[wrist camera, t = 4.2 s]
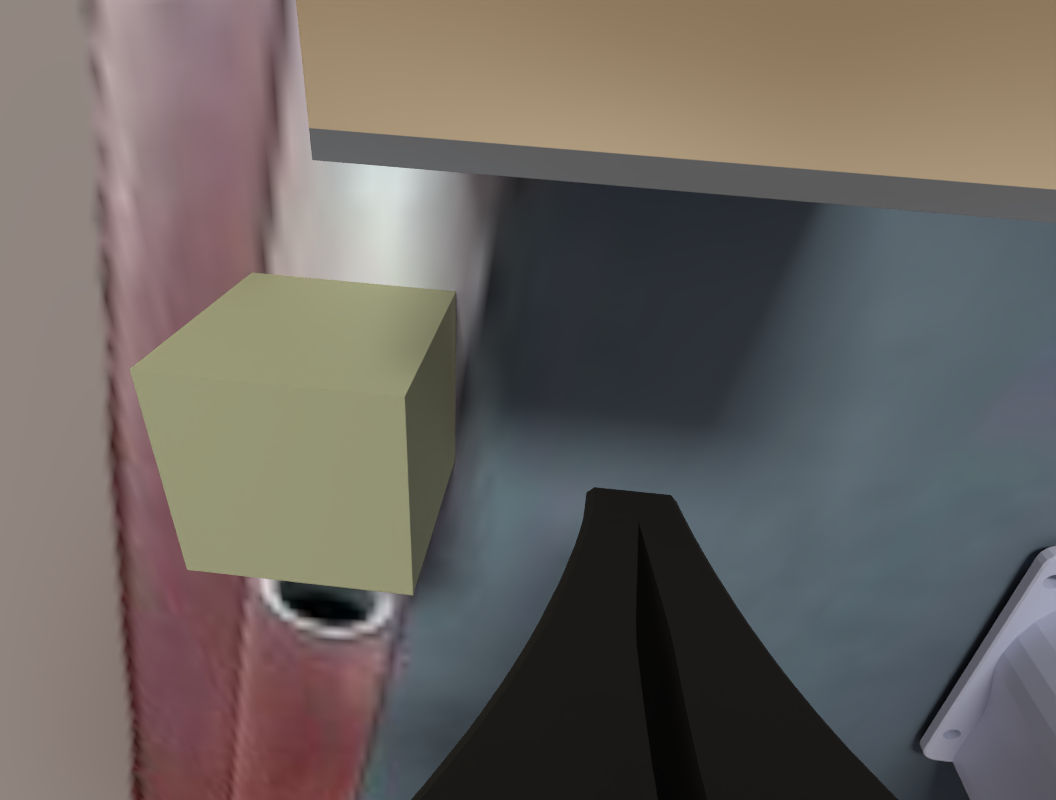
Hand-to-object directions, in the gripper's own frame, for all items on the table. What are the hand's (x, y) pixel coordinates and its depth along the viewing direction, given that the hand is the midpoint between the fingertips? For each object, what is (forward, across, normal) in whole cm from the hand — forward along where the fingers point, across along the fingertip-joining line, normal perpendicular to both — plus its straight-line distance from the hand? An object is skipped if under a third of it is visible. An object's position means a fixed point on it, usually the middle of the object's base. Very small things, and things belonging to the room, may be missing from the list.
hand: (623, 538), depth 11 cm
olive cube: (+6, +6, +1) cm, 9 cm away
